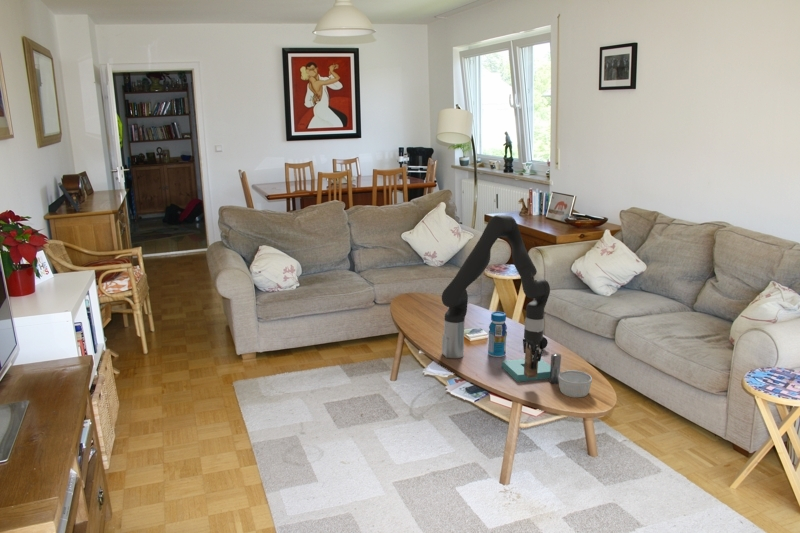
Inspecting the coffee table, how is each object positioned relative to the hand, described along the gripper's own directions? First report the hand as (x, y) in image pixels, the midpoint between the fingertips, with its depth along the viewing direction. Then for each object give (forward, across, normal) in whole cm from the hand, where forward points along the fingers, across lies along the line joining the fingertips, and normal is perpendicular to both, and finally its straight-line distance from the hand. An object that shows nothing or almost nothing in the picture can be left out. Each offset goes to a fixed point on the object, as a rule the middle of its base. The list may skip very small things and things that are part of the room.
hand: (531, 366), depth 275 cm
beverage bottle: (+9, -37, +1) cm, 38 cm away
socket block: (+9, -14, +6) cm, 18 cm away
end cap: (+9, -41, +23) cm, 48 cm away
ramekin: (+9, +9, +15) cm, 20 cm away
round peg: (+9, -2, +12) cm, 15 cm away
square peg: (+4, 0, 0) cm, 4 cm away
